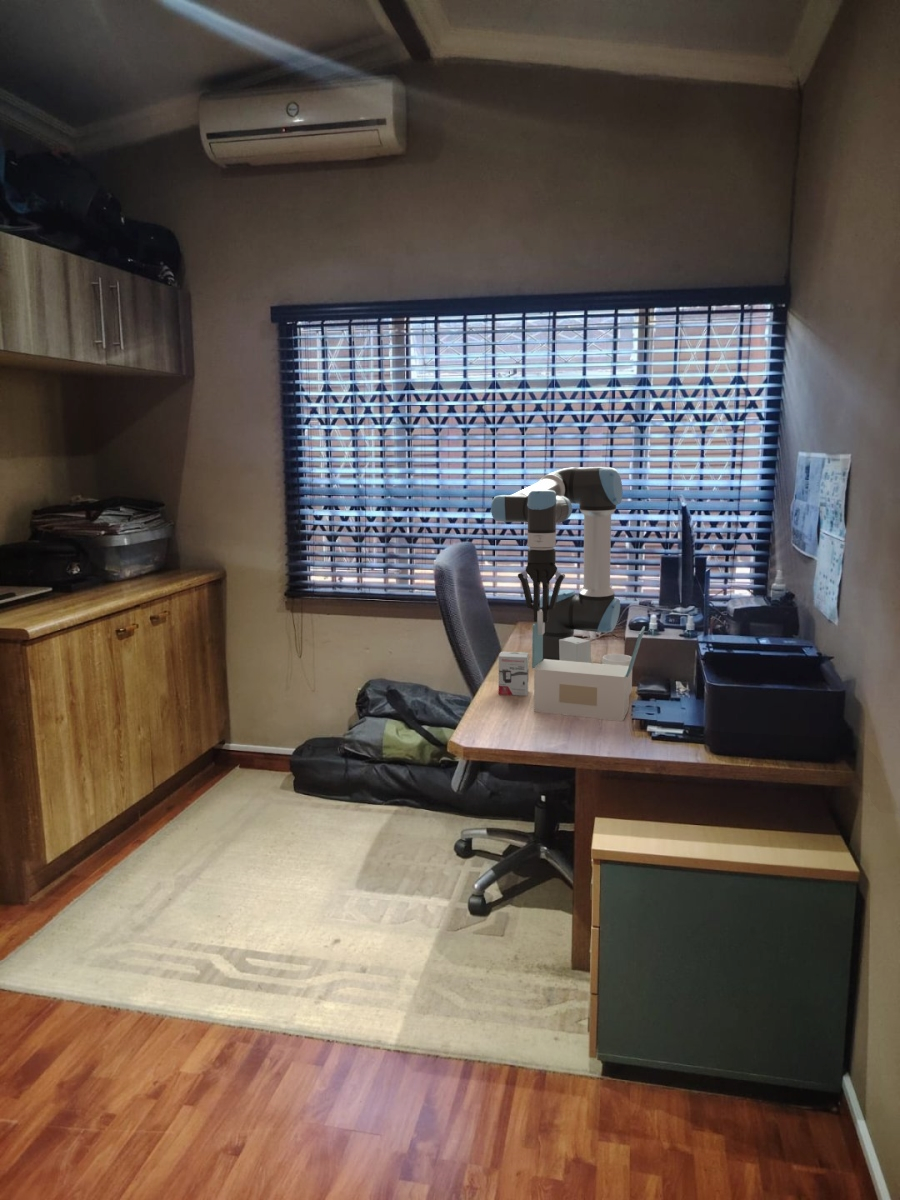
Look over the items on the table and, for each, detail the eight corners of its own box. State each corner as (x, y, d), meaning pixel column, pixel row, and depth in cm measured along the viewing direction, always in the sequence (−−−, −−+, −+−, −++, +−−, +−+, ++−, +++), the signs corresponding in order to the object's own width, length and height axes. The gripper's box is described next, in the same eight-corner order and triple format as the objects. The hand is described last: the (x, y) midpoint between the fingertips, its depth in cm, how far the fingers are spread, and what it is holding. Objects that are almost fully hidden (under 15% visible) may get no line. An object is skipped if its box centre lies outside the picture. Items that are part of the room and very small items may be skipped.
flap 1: (534, 668, 210) (532, 668, 210) (542, 659, 218) (540, 659, 219) (534, 625, 207) (532, 625, 208) (543, 618, 216) (541, 617, 216)
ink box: (497, 694, 226) (497, 655, 224) (499, 689, 231) (499, 651, 229) (527, 696, 225) (527, 656, 222) (528, 691, 229) (529, 652, 227)
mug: (603, 700, 220) (603, 664, 218) (600, 688, 232) (601, 653, 230) (633, 701, 219) (635, 664, 217) (630, 688, 230) (631, 654, 228)
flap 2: (630, 667, 210) (632, 667, 210) (625, 676, 201) (627, 677, 201) (643, 626, 207) (645, 626, 206) (638, 633, 198) (640, 634, 198)
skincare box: (591, 689, 231) (593, 640, 228) (576, 692, 227) (577, 643, 225) (572, 682, 237) (573, 635, 235) (557, 685, 234) (558, 638, 231)
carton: (543, 699, 221) (544, 659, 219) (628, 708, 213) (630, 666, 211) (533, 711, 211) (534, 669, 209) (622, 721, 203) (624, 677, 200)
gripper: (514, 549, 207) (514, 635, 211) (562, 550, 202) (561, 638, 206) (521, 546, 214) (521, 629, 218) (568, 547, 209) (567, 632, 213)
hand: (540, 633), depth 212 cm, fingers closed
